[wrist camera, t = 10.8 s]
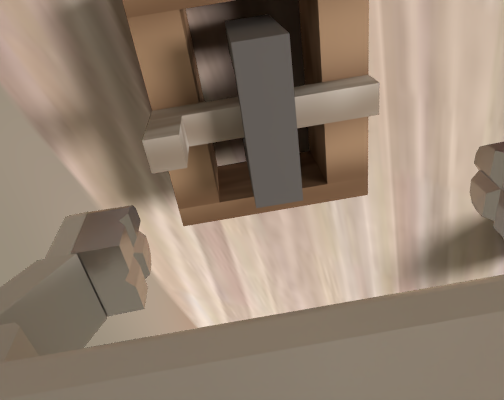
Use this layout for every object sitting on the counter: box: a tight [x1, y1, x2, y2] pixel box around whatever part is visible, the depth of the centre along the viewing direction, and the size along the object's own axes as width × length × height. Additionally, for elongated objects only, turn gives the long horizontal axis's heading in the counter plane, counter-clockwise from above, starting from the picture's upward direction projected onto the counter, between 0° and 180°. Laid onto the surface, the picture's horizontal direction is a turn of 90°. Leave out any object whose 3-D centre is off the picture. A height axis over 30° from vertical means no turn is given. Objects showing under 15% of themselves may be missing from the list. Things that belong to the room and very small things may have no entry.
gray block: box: [225, 14, 303, 208], centre depth 27 cm, size 10×3×8 cm, turn 8°
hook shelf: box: [122, 0, 380, 226], centre depth 28 cm, size 16×14×11 cm
